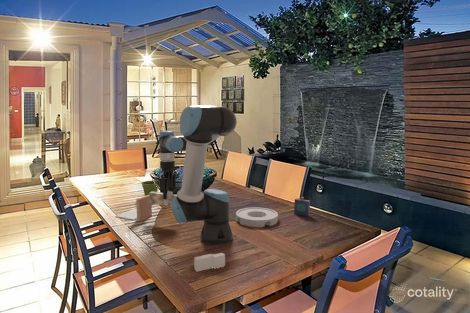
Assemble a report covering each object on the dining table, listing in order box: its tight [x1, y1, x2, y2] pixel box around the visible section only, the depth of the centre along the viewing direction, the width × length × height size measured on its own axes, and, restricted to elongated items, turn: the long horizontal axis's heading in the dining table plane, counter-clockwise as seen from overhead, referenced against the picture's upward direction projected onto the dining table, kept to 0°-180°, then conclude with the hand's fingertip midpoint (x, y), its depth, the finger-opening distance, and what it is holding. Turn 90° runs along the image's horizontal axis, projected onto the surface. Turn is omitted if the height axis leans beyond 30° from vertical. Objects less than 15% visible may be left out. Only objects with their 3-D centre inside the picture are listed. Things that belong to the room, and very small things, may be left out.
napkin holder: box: [193, 252, 226, 272], centre depth 136 cm, size 15×11×6 cm
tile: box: [135, 195, 153, 222], centre depth 195 cm, size 2×10×12 cm, turn 155°
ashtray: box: [235, 206, 279, 228], centre depth 194 cm, size 23×23×4 cm
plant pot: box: [140, 180, 159, 196], centre depth 233 cm, size 12×12×11 cm
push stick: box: [149, 191, 177, 208], centre depth 187 cm, size 18×3×6 cm, turn 65°
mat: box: [115, 207, 137, 221], centre depth 201 cm, size 13×16×1 cm
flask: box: [293, 196, 311, 217], centre depth 203 cm, size 9×3×11 cm, turn 61°
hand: (168, 204), depth 187 cm, fingers closed on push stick, 3 cm apart
